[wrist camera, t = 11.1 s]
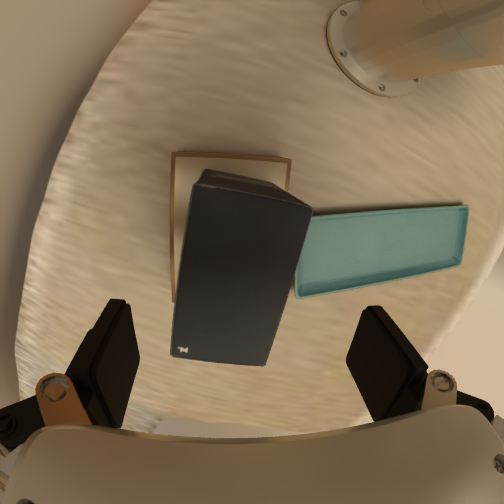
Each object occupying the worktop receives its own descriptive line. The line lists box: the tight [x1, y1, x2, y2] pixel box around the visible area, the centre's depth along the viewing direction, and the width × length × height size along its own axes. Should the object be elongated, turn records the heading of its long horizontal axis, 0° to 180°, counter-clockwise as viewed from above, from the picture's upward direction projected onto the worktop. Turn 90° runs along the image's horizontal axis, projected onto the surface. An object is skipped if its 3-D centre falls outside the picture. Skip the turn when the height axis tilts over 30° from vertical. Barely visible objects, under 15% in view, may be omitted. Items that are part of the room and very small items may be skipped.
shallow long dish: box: [295, 205, 469, 299], centre depth 30 cm, size 26×9×2 cm, turn 95°
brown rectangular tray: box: [170, 152, 291, 302], centre depth 26 cm, size 14×10×4 cm
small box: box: [170, 169, 313, 367], centre depth 19 cm, size 11×6×10 cm, turn 167°
